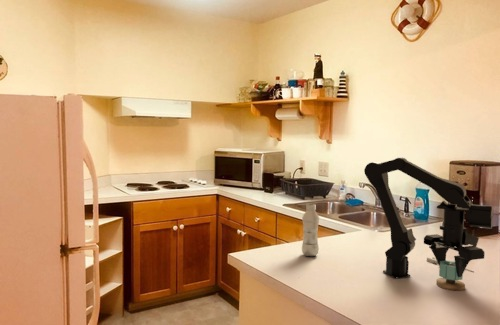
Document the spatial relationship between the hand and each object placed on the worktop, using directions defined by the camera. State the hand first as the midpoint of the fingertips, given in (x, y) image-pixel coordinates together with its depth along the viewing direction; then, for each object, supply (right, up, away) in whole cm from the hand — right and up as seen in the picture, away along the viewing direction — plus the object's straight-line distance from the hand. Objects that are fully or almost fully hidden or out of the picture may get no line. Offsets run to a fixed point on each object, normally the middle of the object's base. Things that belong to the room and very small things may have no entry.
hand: (450, 273), depth 123 cm
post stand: (0, -4, 0) cm, 4 cm away
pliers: (+8, -3, +19) cm, 21 cm away
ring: (0, -1, 0) cm, 1 cm away
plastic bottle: (-40, -2, +30) cm, 50 cm away
